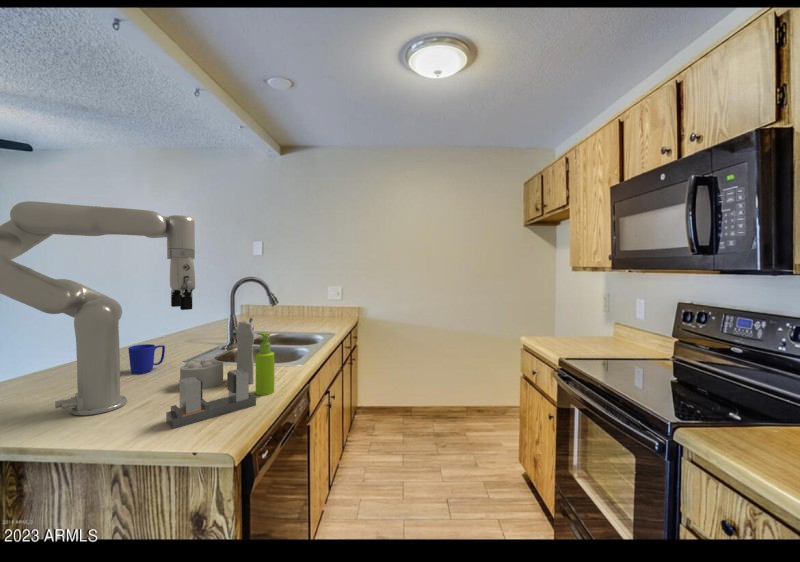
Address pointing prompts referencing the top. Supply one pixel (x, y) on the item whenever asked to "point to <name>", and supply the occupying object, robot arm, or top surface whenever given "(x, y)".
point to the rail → (217, 402)
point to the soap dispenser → (265, 367)
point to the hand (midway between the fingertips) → (181, 307)
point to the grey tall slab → (245, 348)
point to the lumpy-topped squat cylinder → (204, 371)
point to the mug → (143, 358)
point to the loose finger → (190, 394)
